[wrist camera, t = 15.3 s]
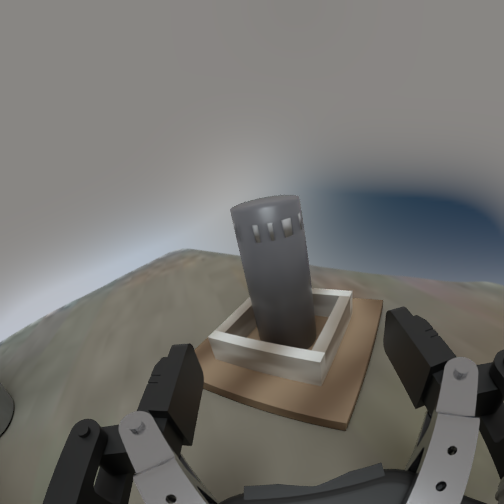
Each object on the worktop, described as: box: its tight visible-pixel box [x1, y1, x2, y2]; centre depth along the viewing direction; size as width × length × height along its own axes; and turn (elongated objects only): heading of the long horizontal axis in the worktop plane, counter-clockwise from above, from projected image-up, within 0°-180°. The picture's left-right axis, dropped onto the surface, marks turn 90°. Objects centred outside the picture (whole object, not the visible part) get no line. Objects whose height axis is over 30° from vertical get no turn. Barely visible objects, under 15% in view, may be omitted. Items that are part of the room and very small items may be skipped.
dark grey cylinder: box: [230, 195, 316, 350], centre depth 21 cm, size 5×5×12 cm
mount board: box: [194, 288, 383, 431], centre depth 23 cm, size 15×15×4 cm
